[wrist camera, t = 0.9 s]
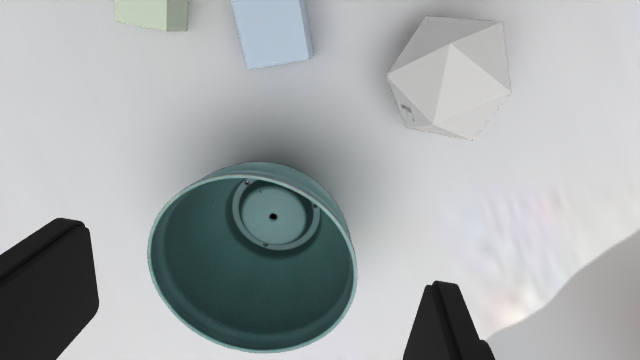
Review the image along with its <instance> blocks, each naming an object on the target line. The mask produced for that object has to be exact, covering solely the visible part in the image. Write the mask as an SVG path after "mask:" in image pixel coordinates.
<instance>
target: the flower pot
mask: <svg viewBox="0 0 640 360" xmlns="http://www.w3.org/2000/svg"><path fill="white" fill-rule="evenodd" d="M245 181H249V184H246V183H245ZM314 204H316V205H317V207H316V206H314ZM272 213H273V214H275V215H277V218H276V219H271V218H270V214H272ZM264 243H266V244H268V245H264ZM147 256H148V257H147V258H148V266H149V270H150V274H151V277H152V281H153V283H154V285H155V287H156V290H157V292H158V294H159V295H160V297H161V298H162V300H163V301H164V303H165V304H166V305H167V307H168V308H169V309H170V310H171V312H172V313H173V314H174V315H175V316H176V317H177V318H178V319H179V320H180V321H181V322H182V323H184V324H185V325H186V326H187V327H188V328H190V329H191V330H192V331H194V332H195V333H197V334H199V335H200V336H202V337H204V338H206V339H208V340H209V341H211V342H214V343H216V344H219V345H222V346H224V347H227V348H230V349H236V350H240V351H244V352H250V353H280V352H286V351H291V350H295V349H299V348H302V347H304V346H307V345H309V344H311V343H313V342H315V341H317V340H319V339H321V338H323V337H324V336H325V335H327V334H328V333H330V332H331V331H332V330H333V329H334V328H335V327H336V326H337V325H338V324H339V323H340V322H341V320H342V319H343V318H344V316H345V315H346V313H347V312H348V310H349V308H350V306H351V304H352V302H353V299H354V296H355V292H356V287H357V263H356V256H355V252H354V248H353V245H352V242H351V237H350V233H349V230H348V226H347V224H346V221H345V219H344V217H343V214H342V212H341V211H340V209H339V207H338V205H337V204H336V202H335V201H334V200H333V198H332V197H331V196H330V194H329V193H328V192H327V191H326V190H325V189H324V188H323V187H322V186H321V185H320V184H319V183H318V182H316V181H315V180H314V179H312V178H311V177H309V176H308V175H306V174H304V173H303V172H300V171H298V170H296V169H294V168H291V167H288V166H285V165H281V164H277V163H270V162H248V163H241V164H237V165H232V166H229V167H226V168H223V169H220V170H218V171H216V172H214V173H212V174H210V175H208V176H206V177H204V178H203V179H201V180H199V181H197V182H195V183H193V184H191V185H189V186H188V187H186V188H185V189H183V190H182V191H181V192H179V193H178V194H177V195H175V196H174V197H173V198H172V199H171V200H170V201H169V202H168V203H167V204H166V205H165V206H164V207H163V209H162V210H161V211H160V213H159V214H158V216H157V218H156V219H155V221H154V224H153V226H152V229H151V231H150V236H149V240H148V249H147Z"/></svg>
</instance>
